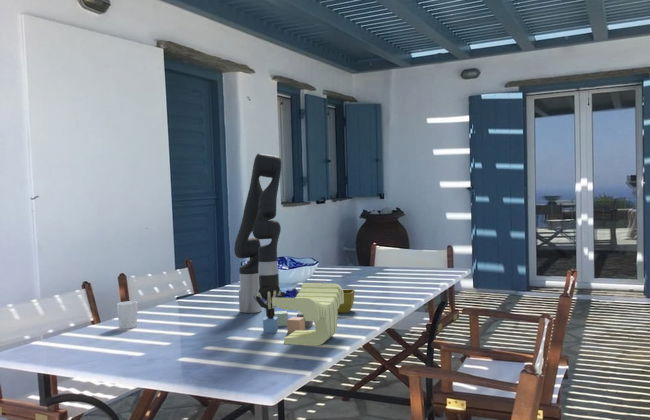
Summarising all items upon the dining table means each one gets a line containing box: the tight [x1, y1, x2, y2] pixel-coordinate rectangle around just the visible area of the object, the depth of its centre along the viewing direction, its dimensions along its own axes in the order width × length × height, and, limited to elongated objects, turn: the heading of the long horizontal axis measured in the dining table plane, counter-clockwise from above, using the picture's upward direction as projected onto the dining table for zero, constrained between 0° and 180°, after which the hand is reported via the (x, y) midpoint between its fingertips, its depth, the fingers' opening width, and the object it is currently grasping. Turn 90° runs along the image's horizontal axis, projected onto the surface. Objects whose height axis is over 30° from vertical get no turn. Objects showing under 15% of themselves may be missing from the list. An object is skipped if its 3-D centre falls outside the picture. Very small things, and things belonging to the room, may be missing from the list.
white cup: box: [116, 300, 138, 330], centre depth 243 cm, size 8×8×10 cm
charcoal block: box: [296, 311, 314, 328], centre depth 234 cm, size 5×5×5 cm
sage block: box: [274, 310, 289, 327], centre depth 237 cm, size 5×5×5 cm
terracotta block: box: [286, 316, 306, 334], centre depth 224 cm, size 5×5×5 cm
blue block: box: [262, 316, 279, 334], centre depth 226 cm, size 5×5×5 cm
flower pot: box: [337, 288, 355, 314], centre depth 257 cm, size 9×9×9 cm
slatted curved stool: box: [272, 282, 344, 346], centre depth 211 cm, size 30×16×18 cm, turn 162°
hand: (270, 318), depth 226 cm, fingers closed
